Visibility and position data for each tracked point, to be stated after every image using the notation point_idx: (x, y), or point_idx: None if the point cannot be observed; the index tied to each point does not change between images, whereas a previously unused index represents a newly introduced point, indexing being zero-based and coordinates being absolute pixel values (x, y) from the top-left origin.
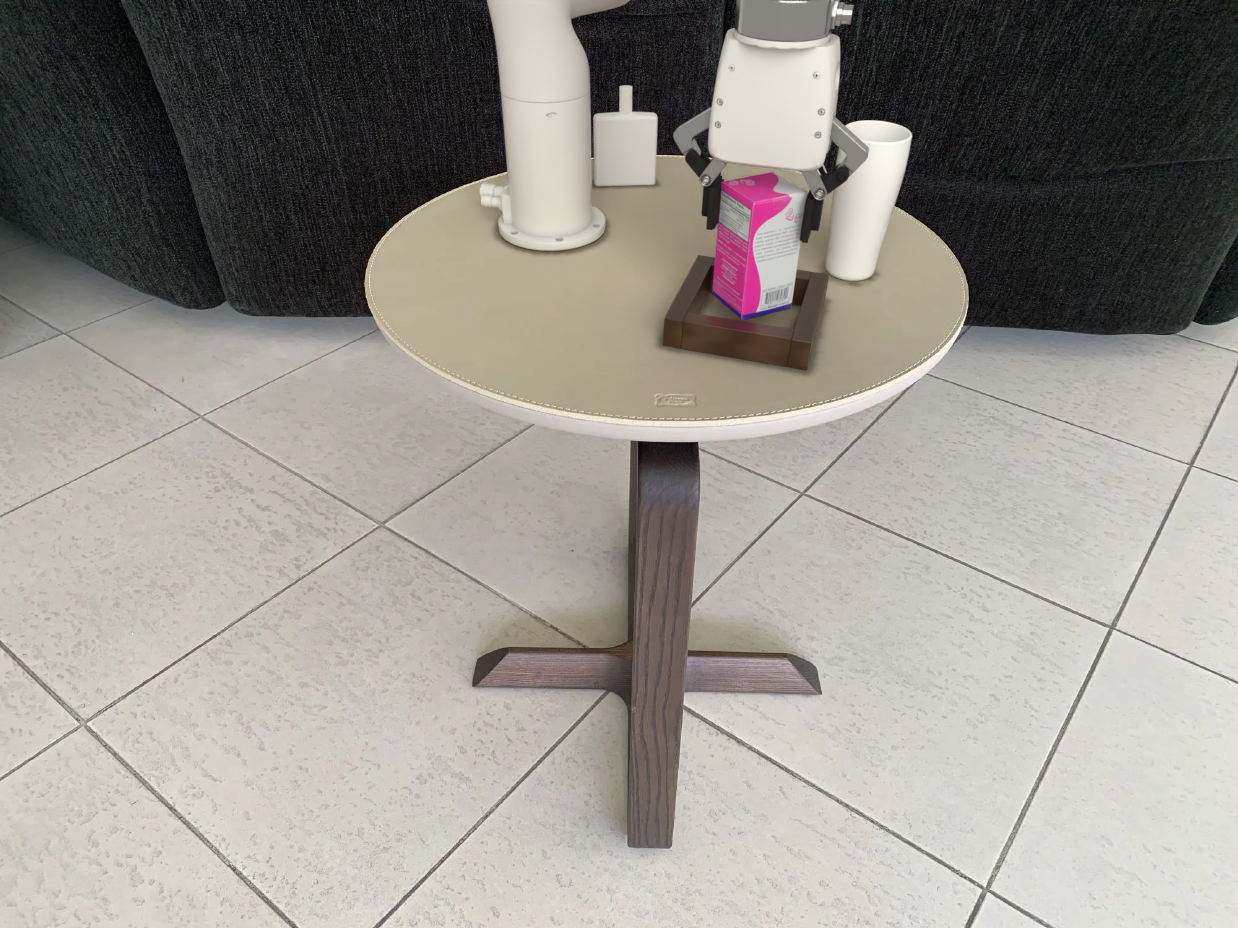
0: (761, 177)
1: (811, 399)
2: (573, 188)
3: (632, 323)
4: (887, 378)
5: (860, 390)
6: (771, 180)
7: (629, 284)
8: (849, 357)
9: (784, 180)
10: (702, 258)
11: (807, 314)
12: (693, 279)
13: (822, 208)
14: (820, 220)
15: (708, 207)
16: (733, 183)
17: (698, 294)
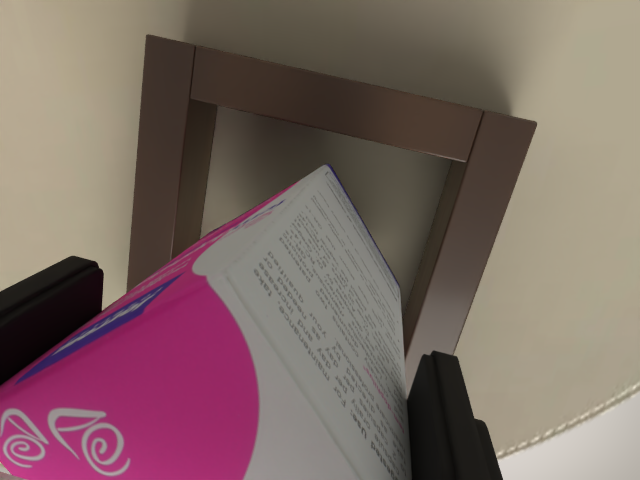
0: (156, 377)
1: None
2: None
3: (83, 253)
4: (571, 419)
5: (506, 450)
6: (216, 415)
7: (33, 82)
8: (513, 356)
9: (293, 417)
10: (160, 59)
11: (430, 343)
12: (153, 191)
13: (498, 471)
14: (485, 429)
15: None
16: (23, 445)
17: (179, 234)
